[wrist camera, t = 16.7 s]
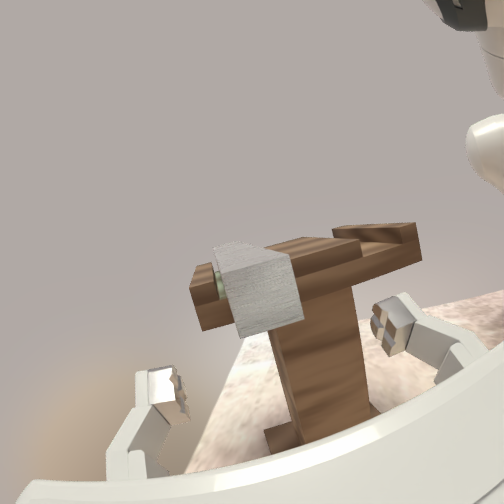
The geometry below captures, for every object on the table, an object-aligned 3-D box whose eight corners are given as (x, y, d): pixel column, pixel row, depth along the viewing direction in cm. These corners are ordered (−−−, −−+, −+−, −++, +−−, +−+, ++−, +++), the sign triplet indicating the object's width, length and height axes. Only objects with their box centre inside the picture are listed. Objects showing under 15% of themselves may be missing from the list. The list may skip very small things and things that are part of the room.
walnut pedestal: (429, 449, 28) (415, 222, 25) (273, 515, 26) (188, 287, 23) (373, 396, 44) (344, 225, 41) (253, 440, 41) (196, 266, 39)
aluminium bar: (304, 319, 14) (288, 254, 14) (240, 338, 14) (221, 273, 13) (242, 264, 40) (236, 241, 39) (219, 270, 39) (212, 247, 39)
